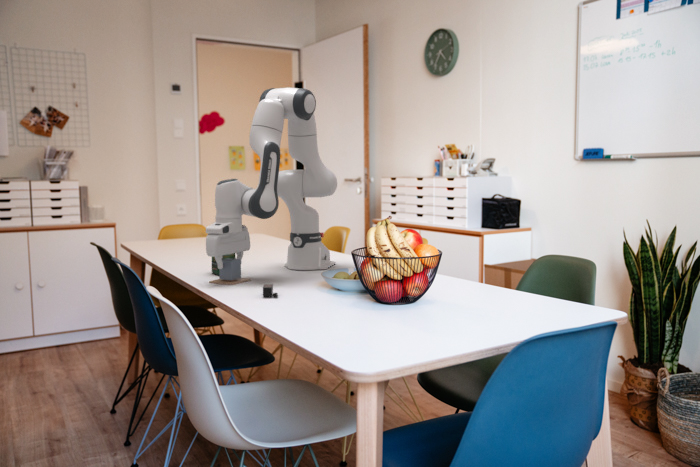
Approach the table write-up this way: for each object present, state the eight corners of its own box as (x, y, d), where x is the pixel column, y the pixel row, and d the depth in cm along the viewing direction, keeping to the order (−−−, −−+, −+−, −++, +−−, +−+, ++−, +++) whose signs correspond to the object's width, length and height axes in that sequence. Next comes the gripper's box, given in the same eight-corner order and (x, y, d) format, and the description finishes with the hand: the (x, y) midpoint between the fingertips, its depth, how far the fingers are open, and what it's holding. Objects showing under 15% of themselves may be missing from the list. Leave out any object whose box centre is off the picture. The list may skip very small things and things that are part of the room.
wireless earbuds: (262, 298, 170) (262, 288, 170) (264, 294, 177) (264, 284, 177) (277, 298, 171) (277, 288, 170) (279, 293, 177) (278, 283, 177)
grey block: (228, 276, 201) (228, 258, 201) (241, 277, 199) (240, 259, 198) (219, 279, 196) (219, 260, 196) (231, 280, 194) (231, 261, 194)
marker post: (227, 278, 204) (227, 258, 204) (250, 280, 200) (250, 260, 200) (209, 282, 195) (208, 262, 195) (233, 284, 191) (232, 264, 191)
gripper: (239, 224, 207) (240, 262, 208) (202, 228, 188) (203, 270, 190) (254, 224, 204) (255, 263, 205) (217, 229, 186) (218, 271, 187)
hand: (229, 266), depth 197 cm, fingers open, 8 cm apart
